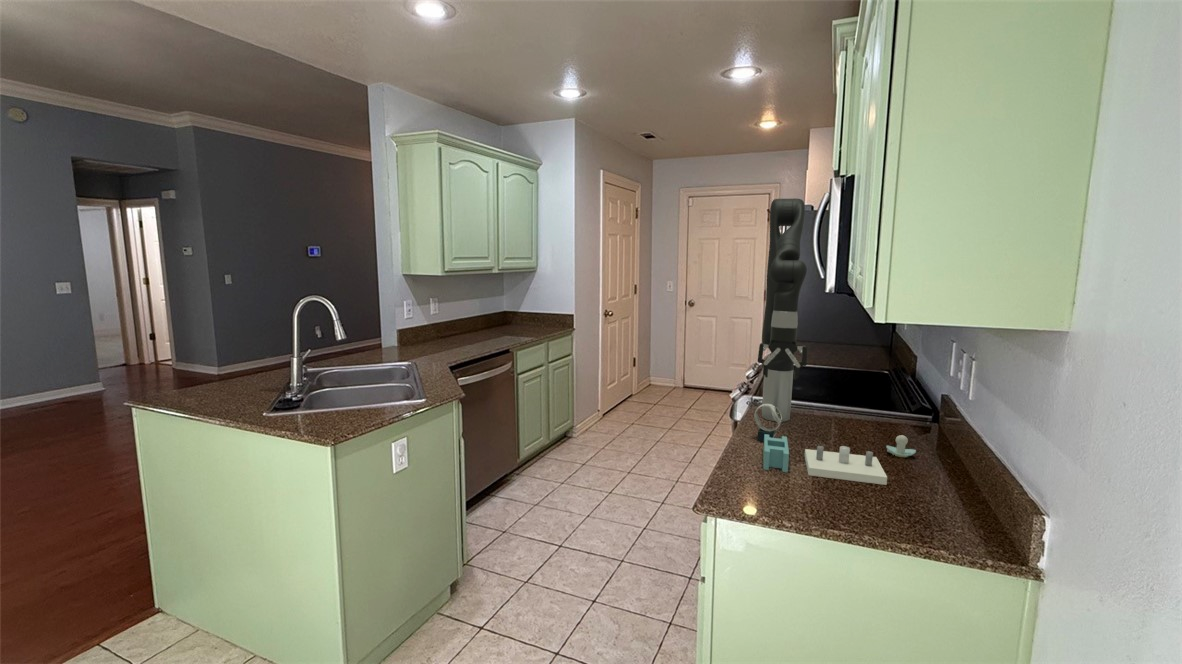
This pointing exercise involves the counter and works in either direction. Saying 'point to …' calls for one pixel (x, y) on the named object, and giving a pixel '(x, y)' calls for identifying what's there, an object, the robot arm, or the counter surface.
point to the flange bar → (775, 453)
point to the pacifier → (901, 447)
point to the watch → (767, 430)
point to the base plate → (845, 465)
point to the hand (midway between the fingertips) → (780, 378)
